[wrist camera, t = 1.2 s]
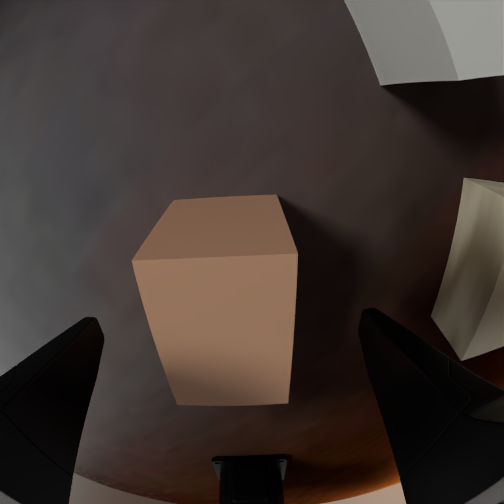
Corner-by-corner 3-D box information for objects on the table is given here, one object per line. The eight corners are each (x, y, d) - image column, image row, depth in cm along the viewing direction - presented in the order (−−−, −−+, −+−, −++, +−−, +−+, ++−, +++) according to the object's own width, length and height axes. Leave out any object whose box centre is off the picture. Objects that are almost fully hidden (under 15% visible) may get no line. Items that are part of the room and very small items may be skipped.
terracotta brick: (276, 317, 14) (287, 403, 10) (193, 320, 14) (177, 404, 10) (276, 194, 11) (298, 253, 7) (174, 199, 11) (131, 260, 7)
